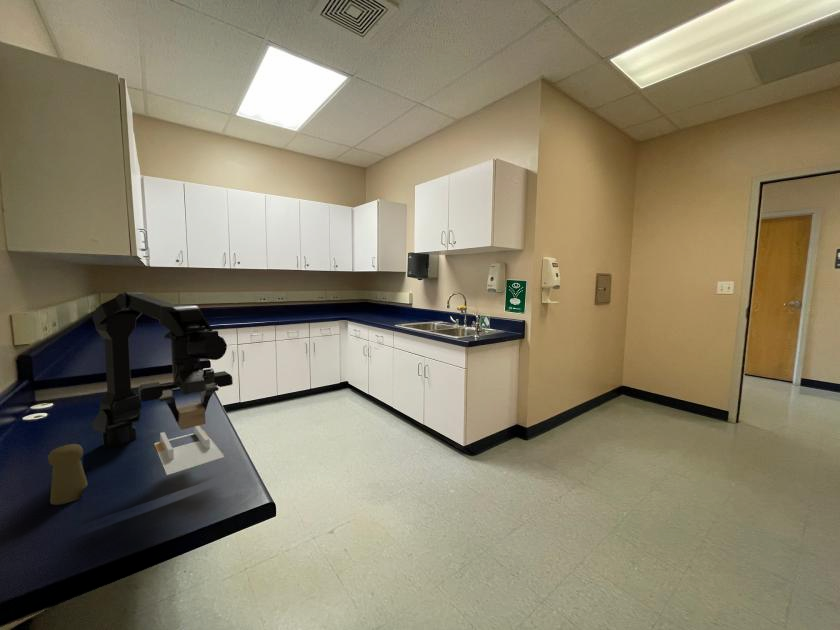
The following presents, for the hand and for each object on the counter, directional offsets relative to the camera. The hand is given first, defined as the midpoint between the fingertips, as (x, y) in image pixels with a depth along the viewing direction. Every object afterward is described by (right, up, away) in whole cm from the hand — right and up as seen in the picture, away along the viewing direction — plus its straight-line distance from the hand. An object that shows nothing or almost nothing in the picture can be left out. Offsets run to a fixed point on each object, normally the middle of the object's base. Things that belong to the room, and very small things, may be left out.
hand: (190, 418), depth 86 cm
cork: (-18, -13, -11) cm, 25 cm away
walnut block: (0, -1, 0) cm, 1 cm away
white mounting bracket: (-4, -12, +6) cm, 14 cm away
